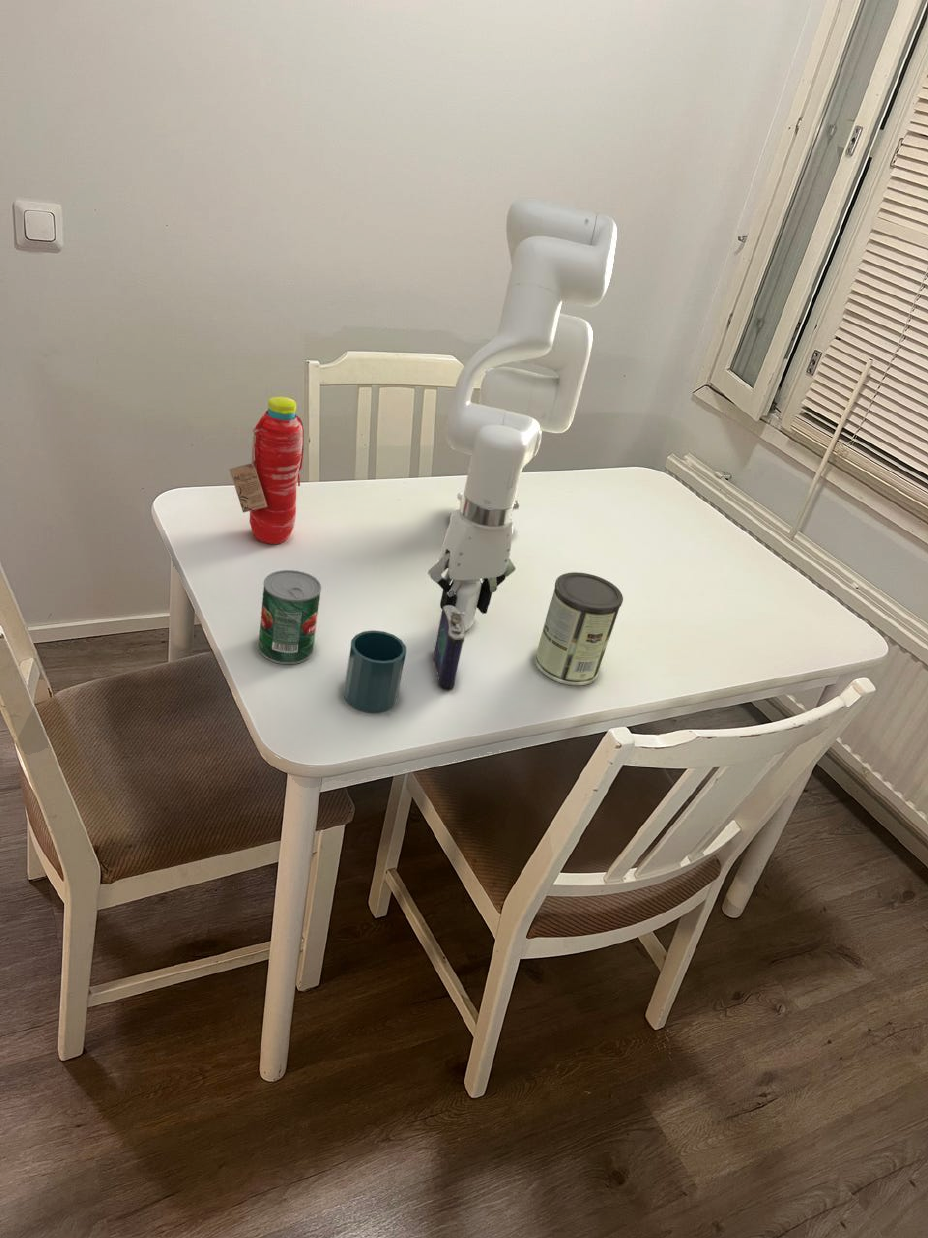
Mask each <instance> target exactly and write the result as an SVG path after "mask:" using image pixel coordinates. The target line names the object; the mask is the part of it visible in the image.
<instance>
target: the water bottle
mask: <svg viewBox="0 0 928 1238" xmlns="http://www.w3.org/2000/svg"><path fill="white" fill-rule="evenodd" d="M296 411H297V403H296V401H295V400H293V399H291V398H289V397H285V396H272V397H270V398H269V399H268V401H267V410H266V411H265V412H264V414H263V415H262V416H261V417H260V418H259V420H258V423H257V424H256V425H255V427H254V428H252V433H253V435H252V448H251V449H252V450H251V451H252V452H251V463H247V464H244V465H240V466H236V467H232V468H229V469H228V470H229V473H230V476H231V479H232V484H233V486H234V489H235V491H236V492H235V493H236V496H237V499H238V501H239V505H240V507H241V511H242V513H243V514H244V513H248V512H249V525H250V528H251V531H252V534H253V536H254V538H255V539H257V540H258V541H259V542H261V543H265V544H269V545H277V544H279V545H280V544H282V543H285V542H286V541H287V540H288V539H289V538H290V536H291V534H292V532H293V530H294V529H295V523H296V516H297V487H300V486H301V477H300V471H301V470H302V469H303V468H302V467H303V459H304V451H305V449H304V448H305V445H304V443H305V441H304V440H305V430H304V425H303V421H302V420H301V419H302V418H300V417H299V416H298V415H297V414H296Z"/></svg>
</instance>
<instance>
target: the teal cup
mask: <svg viewBox="0 0 928 1238" xmlns="http://www.w3.org/2000/svg"><path fill="white" fill-rule="evenodd" d="M406 656H407V646H406V644H405V643H404V642H403V640H402V639H401V638H399V637H397V636H396V635H394V634H392V633H390V632H386V631H383V630H382V631H381V630H373V629H372V630H365V631H361V632H359V633H356V634H355V635H354V637H352V639H351V640H350V645H349V652H348V658H347V659H348V660H347V665H346V666H347V667H346V673H345V680H344V685H343V697H344V700H345V701H346V702H347V704H348V705H349V706H351V707H352V708H353V709H356V710H357V711H360V712H364V713H370V714H377V713H378V714H379V713H385V712H387V711H389V710H391V709H392V708H393V707H394V706H395V705H396V704H397V700H398V698H399V692H400V687H401V681H402V677H403V671H404V666H405V661H406Z"/></svg>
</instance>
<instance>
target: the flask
mask: <svg viewBox="0 0 928 1238" xmlns="http://www.w3.org/2000/svg"><path fill="white" fill-rule="evenodd" d="M461 614H462V615H464V614H465V613H464V612H463V611H462V613H461V612H460V611H458V610H457V608H456V607H454V606H451V605H446V606H443V608H442V609H441V614H440V620H439V625H438V630H437V636H436V639H435V643H434V648H433V652H432V661H433V662H434V671H435V672H436V673H437V674H436V677H437V686H438V687H439V688H440V689H441V690H442V691H452V690H453V689H454V688H455V685H456V679H457V671H458V668H459V664H460V663H459V662H460V660H461V659H460V658H461V654H462V649H463V645H464V642H465V635H466V634H465V632H466V631H465V627H464V622H463V619H462V617H461Z"/></svg>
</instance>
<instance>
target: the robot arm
mask: <svg viewBox="0 0 928 1238" xmlns="http://www.w3.org/2000/svg"><path fill="white" fill-rule="evenodd" d="M505 223H506V224H505V227H506V228H505V229H506V231H505V232H506V240H507V248H508V252H509V257H510V264H511V270H510V273H509V274H510V276H509V279H508V283H507V286H506V287H507V288H506V292H505V297H504V300H503V305H502V309H501V315H500V319H499V322H498V323H499V324H498V328H497V332H496V335H494V338H493V339H492V340H491V341H490V342H487V344H485V345H484V346H483V347H481V348H480V349H478V351H476V352H475V353H474V354H473V355H472V356H471V357H470V358H469V360H467V362H466V363H465V365H464V366H463V368H462V370H461V372H460V374H459V376H458V377H457V381H456V383H455V387H454V390H453V395H452V399H451V404H450V408H449V411H448V416H447V421H446V428H445V439H446V442H447V444H448V446H449V447H450V448H451V449H452V450H454V451H456V452H458V453H462V454H466V455H470V456H471V457H470V461H469V466H468V471H467V475H466V480H465V484H464V490H463V493H462V492H459V493H458V494H456V499H458V501H459V502H460V503H459V508H458V509H456V510H454V511H453V512H452V513H451V515H450V517H449V524H448V527H447V529H446V532H445V535H444V538H443V541H442V545H441V549H440V553H439V557H438V561H437V562H436V563H435V564H434V565H432V567H431V568H430V569H428V571H427V575H428V577H429V578H430V579H431V580H432V581H433V582H434V583H436V584H437V585H438V586H439V587H440V588H441V590H442V593H441V599H440V603H439V607H440V609H441V610H442V608H443V606H446V605H451V606H454V607H455V605H456V601H457V596H456V595H455V592H456V591H457V589H458V587H459V585H460V583H461V581H462V580H472V579H479V580H482V581H481V584H482V586H481V591H480V595H479V600H478V604H477V608H476V609H477V610H479V612H480V613H481V614H482V615H485V614H487V613H488V609H489V606H490V604H491V600H492V596H493V593H495V592H496V591H497V590H498V586H499V585H501V584H502V583H503V582H504V581H505V580H506V579H507V577H509V576H510V575H512V574H513V573H514V572H515V571H516V569H517V567H516V566H515V565H514V562H513V561H512V560H511V559H510V555H511V550H512V543H513V534H514V529H515V527H514V525H513V523H514V522H513V518H512V515H513V512H514V510H518V509H519V508H520V502H519V501H518V500H516V496H517V493H518V489H519V485H520V481H521V476H522V471H523V468H524V467H525V466H527V464H529V463H530V461H531V460H532V459H533V458H535V457H536V456H537V454H538V452H539V450H540V447H541V443H542V437H543V433H542V432H548V433H552V434H562V433H565V432H566V431H568V429H570V427H571V425H572V423H573V421H574V418H575V415H576V411H577V407H578V403H579V399H580V396H581V392H582V388H583V385H584V381H585V376H586V373H587V369H588V364H589V362H590V357H591V352H592V347H593V329H592V327H591V325H590V324H589V322H588V321H587V320H585V319H583V318H580V317H577V316H574V315H569V314H564V313H560V312H561V308H562V303H568V304H572V305H577V306H581V307H587V308H594V307H597V306H598V305H599V304H600V303H601V301H602V300H603V299H604V297H605V295H606V293H607V290H608V286H609V283H610V280H611V276H612V271H613V264H614V256H615V251H616V250H615V249H616V243H617V224H616V223H615V220H614V219H613V218H612V217H611V216H609V215H607V214H604V213H600V212H596V211H592V210H588V209H584V208H581V207H576V206H571V205H568V204H563V203H559V202H556V201H550V200H547V199H541V198H533V197H531V198H530V197H523V198H518V199H516V200H514V201H513V202H512V203H511V204H510V206H509V208H508V210H507V215H506V222H505ZM513 362H515V363H517V364H523V365H525V366H531V367H536V368H539V369H543V370H547V371H553V372H554V373H556V375H557V377H554V376H550V375H545V374H540V373H536V372H533V371H529V370H525V369H520V368H515V367H511V366H502V365H505V364H509V363H513ZM482 376H483V378H482V380H481V383H480V388H479V401H478V402H479V403H475V402H472V401H471V400H472V397H473V396H472V395H473V393H474V390H475V387H476V384H477V383H478V382H479V380H480V379H481V377H482ZM446 570H447V571H446ZM445 571H446V572H445ZM444 572H445V575H444V577H443V576H442V574H443V573H444Z"/></svg>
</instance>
